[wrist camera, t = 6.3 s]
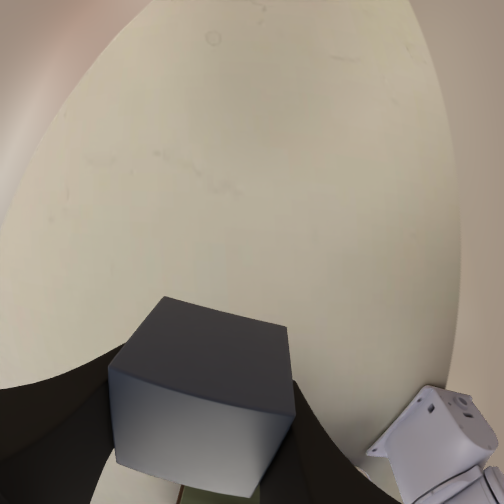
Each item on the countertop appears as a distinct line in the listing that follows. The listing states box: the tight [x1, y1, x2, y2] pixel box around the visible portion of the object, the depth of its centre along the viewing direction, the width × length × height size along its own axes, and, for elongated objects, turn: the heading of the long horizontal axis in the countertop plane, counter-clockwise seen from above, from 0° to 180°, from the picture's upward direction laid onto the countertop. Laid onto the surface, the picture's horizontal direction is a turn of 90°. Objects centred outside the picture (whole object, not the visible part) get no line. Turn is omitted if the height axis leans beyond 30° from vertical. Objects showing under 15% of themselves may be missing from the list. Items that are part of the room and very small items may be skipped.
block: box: [108, 296, 296, 498], centre depth 9 cm, size 4×4×4 cm
